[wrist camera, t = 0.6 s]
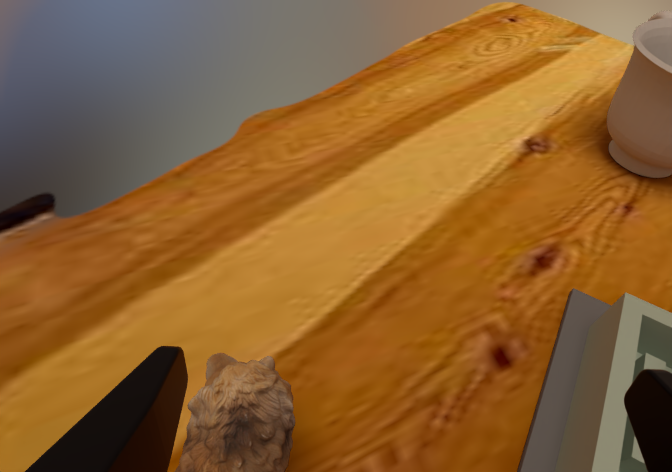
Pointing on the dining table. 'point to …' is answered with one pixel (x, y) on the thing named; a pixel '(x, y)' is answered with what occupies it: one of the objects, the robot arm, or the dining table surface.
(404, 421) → the dining table surface
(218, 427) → the lion figurine
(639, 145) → the teacup
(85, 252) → the dining table surface
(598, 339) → the storage box
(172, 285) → the dining table surface
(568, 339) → the mat
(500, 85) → the dining table surface
